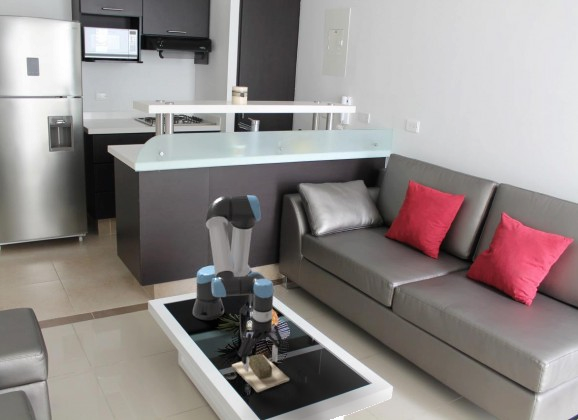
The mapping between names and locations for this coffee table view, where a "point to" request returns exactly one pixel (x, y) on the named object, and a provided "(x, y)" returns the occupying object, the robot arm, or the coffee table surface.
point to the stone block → (260, 366)
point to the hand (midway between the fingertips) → (260, 365)
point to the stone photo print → (261, 383)
